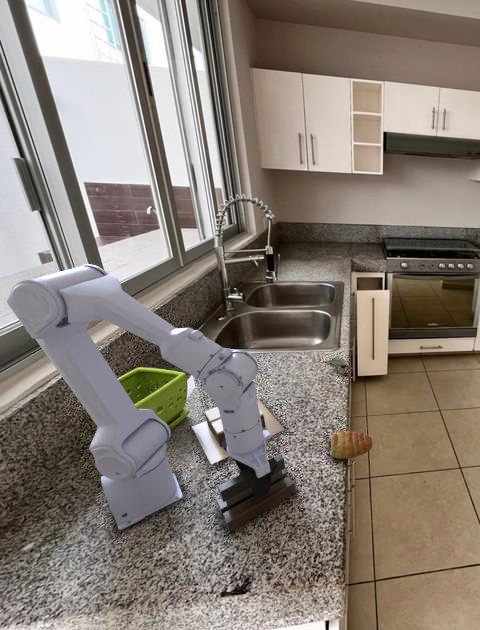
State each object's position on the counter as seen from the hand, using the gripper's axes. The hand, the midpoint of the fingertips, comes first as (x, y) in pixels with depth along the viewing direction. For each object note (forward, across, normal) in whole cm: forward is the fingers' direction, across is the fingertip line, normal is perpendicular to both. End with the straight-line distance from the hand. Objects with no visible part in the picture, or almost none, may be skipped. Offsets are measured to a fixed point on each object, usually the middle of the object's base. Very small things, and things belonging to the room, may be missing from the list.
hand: (254, 481), depth 63 cm
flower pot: (+5, +37, +11) cm, 39 cm away
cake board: (+5, +23, -4) cm, 24 cm away
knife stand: (+5, 0, 0) cm, 5 cm away
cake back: (+4, +27, -4) cm, 27 cm away
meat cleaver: (+5, +32, -37) cm, 49 cm away
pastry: (+5, 0, -20) cm, 21 cm away
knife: (+5, 0, 0) cm, 5 cm away
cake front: (+4, +21, -4) cm, 22 cm away
